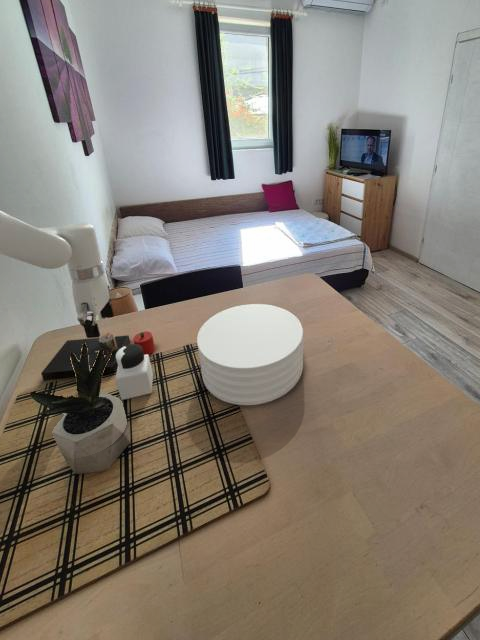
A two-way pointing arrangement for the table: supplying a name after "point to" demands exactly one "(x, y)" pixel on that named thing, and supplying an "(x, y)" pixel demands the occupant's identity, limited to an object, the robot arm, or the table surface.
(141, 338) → the pepper
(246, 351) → the plate stack
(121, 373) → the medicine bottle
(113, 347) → the hob knob
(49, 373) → the hob
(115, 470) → the table surface
